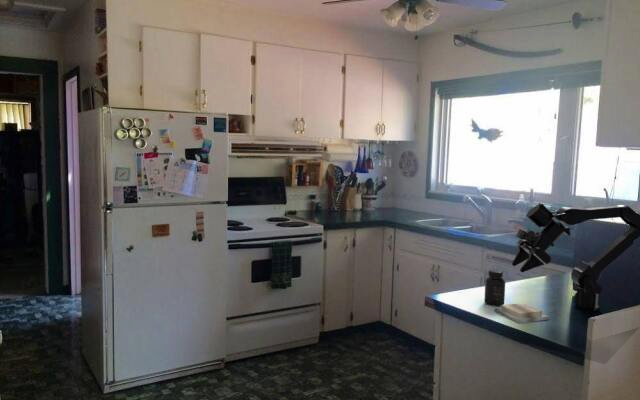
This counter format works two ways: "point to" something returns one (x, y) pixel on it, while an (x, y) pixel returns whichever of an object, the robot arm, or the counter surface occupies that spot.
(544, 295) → the counter surface
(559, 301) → the counter surface
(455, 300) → the counter surface
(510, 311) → the build base
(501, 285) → the supplement bottle
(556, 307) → the counter surface
